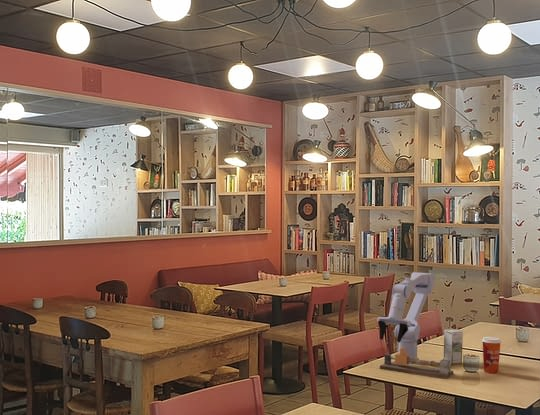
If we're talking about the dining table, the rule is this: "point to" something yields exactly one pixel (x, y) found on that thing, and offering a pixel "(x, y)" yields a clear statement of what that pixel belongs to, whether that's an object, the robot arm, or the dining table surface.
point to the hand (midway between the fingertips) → (389, 340)
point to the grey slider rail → (419, 367)
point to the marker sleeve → (402, 357)
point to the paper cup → (491, 354)
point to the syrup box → (453, 345)
